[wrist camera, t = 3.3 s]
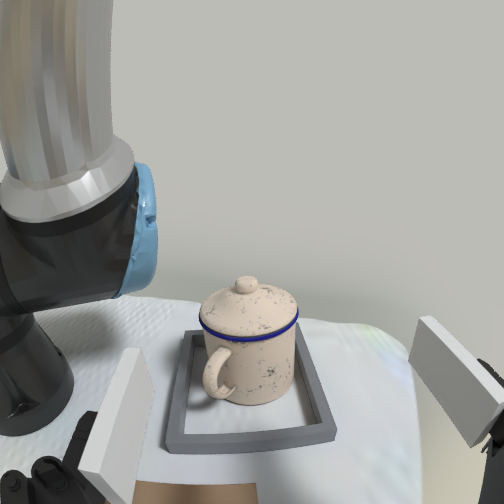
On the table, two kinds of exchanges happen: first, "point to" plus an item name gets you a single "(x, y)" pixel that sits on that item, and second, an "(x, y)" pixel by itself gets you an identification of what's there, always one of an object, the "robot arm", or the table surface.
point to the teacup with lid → (249, 342)
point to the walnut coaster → (193, 493)
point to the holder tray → (249, 440)
